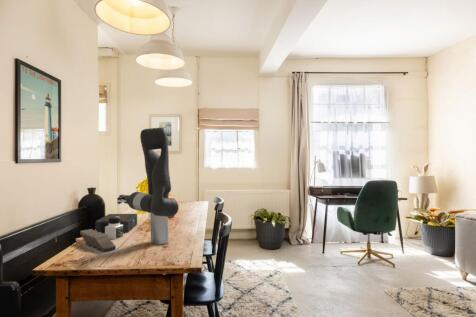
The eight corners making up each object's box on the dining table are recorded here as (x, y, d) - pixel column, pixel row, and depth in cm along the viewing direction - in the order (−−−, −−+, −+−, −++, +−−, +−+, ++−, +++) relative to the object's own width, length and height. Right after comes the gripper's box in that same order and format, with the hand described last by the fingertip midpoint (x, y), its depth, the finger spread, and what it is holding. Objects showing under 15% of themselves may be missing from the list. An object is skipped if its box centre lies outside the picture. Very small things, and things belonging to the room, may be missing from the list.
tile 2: (111, 244, 150) (100, 232, 157) (98, 247, 145) (88, 234, 152) (110, 247, 150) (100, 235, 157) (98, 250, 146) (88, 237, 153)
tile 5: (97, 238, 159) (87, 236, 167) (85, 241, 155) (75, 238, 162) (97, 242, 159) (87, 239, 167) (85, 244, 155) (75, 241, 162)
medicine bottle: (116, 240, 166) (116, 218, 166) (104, 239, 168) (104, 217, 168) (123, 236, 173) (123, 216, 173) (112, 236, 175) (112, 215, 175)
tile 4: (101, 240, 156) (92, 228, 163) (89, 243, 151) (80, 230, 159) (100, 243, 156) (91, 231, 164) (89, 246, 152) (79, 233, 159)
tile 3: (106, 242, 153) (96, 230, 160) (94, 245, 148) (84, 232, 155) (105, 245, 153) (95, 233, 160) (93, 248, 149) (84, 235, 156)
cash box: (129, 233, 183) (129, 220, 183) (94, 234, 181) (94, 221, 181) (138, 224, 208) (138, 213, 208) (108, 225, 206) (108, 213, 206)
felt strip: (122, 251, 146) (122, 250, 146) (102, 256, 138) (102, 255, 138) (99, 242, 162) (99, 241, 162) (80, 246, 154) (80, 245, 154)
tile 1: (115, 246, 147) (104, 233, 154) (103, 249, 142) (93, 235, 149) (115, 249, 147) (104, 236, 154) (103, 252, 142) (92, 238, 150)
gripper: (155, 191, 131) (134, 187, 142) (126, 194, 121) (106, 190, 132) (155, 208, 131) (134, 203, 143) (126, 213, 121) (106, 207, 133)
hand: (121, 196), depth 138 cm, fingers closed
